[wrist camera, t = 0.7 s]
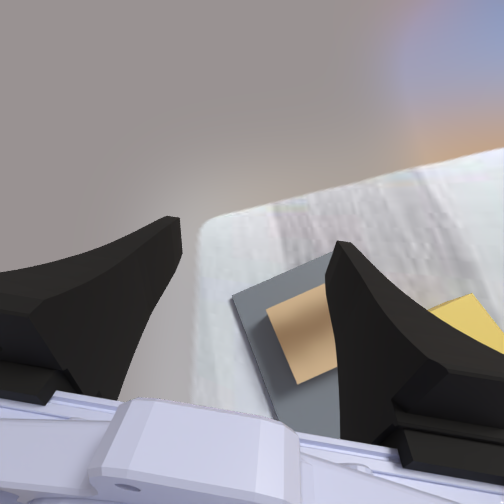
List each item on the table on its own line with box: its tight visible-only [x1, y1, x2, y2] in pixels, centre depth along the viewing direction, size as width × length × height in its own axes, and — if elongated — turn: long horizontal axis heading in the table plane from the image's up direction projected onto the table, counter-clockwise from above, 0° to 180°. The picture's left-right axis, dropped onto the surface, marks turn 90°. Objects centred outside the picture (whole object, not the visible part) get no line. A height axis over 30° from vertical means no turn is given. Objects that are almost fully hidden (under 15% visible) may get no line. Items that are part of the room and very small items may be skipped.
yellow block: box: [428, 293, 504, 354], centre depth 23 cm, size 5×5×4 cm
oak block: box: [266, 284, 337, 384], centre depth 25 cm, size 7×7×3 cm
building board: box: [232, 251, 340, 439], centre depth 26 cm, size 16×13×1 cm
